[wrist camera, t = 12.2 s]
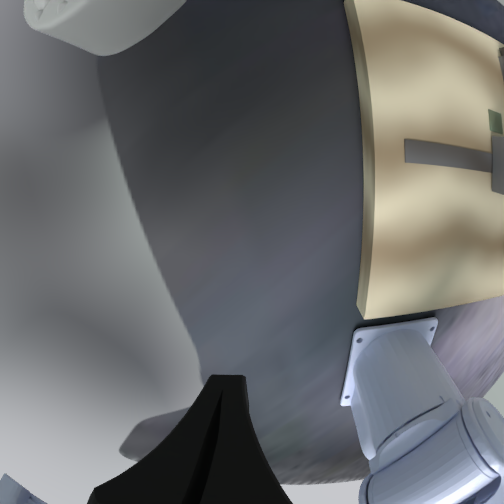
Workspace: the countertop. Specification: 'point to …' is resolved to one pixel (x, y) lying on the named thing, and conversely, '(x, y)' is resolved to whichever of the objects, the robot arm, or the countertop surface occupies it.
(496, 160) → the slider knob
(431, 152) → the control board
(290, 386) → the countertop surface
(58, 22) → the lumpy-topped squat cylinder
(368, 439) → the robot arm
